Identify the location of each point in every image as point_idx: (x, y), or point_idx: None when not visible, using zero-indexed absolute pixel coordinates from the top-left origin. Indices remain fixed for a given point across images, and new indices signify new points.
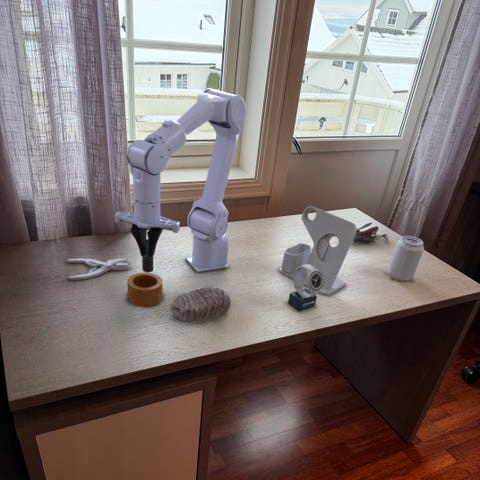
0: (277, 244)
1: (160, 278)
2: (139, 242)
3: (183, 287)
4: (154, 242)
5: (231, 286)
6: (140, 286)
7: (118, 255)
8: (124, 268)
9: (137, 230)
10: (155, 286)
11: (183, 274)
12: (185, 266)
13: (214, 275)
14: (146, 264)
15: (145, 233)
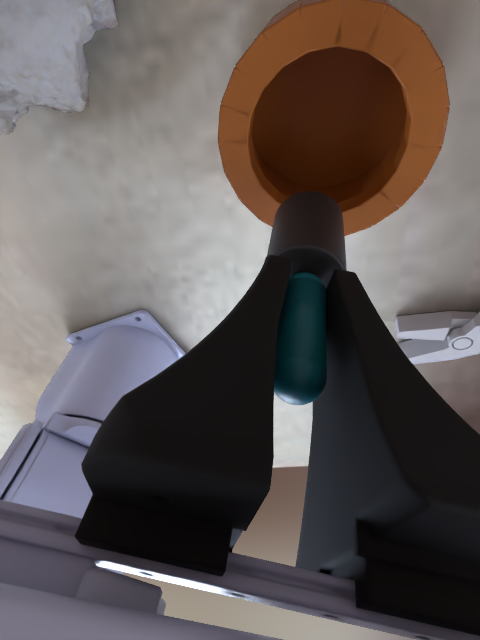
0: (8, 415)
1: (236, 186)
2: (383, 361)
3: (165, 215)
4: (200, 344)
5: (4, 237)
6: (350, 185)
7: None
8: (411, 318)
9: (441, 528)
10: (252, 79)
11: (188, 296)
12: (193, 337)
13: (88, 296)
14: (313, 220)
15: (317, 463)
